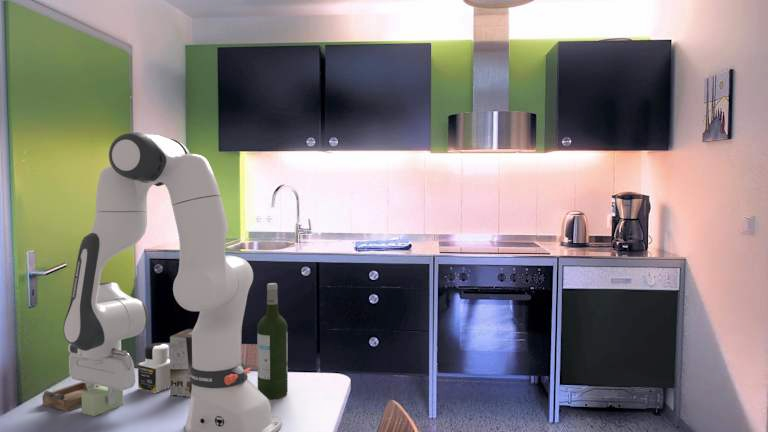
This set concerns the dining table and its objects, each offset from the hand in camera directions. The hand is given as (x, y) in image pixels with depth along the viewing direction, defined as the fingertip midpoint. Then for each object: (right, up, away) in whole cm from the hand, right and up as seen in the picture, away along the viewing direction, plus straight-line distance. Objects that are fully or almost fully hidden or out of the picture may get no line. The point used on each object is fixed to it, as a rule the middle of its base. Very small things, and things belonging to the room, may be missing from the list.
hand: (102, 401), depth 137 cm
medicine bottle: (+7, -2, +15) cm, 17 cm away
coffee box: (+17, -2, +13) cm, 22 cm away
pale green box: (0, -2, 0) cm, 2 cm away
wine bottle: (+41, -2, +10) cm, 42 cm away
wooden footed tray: (-10, -2, +5) cm, 11 cm away
